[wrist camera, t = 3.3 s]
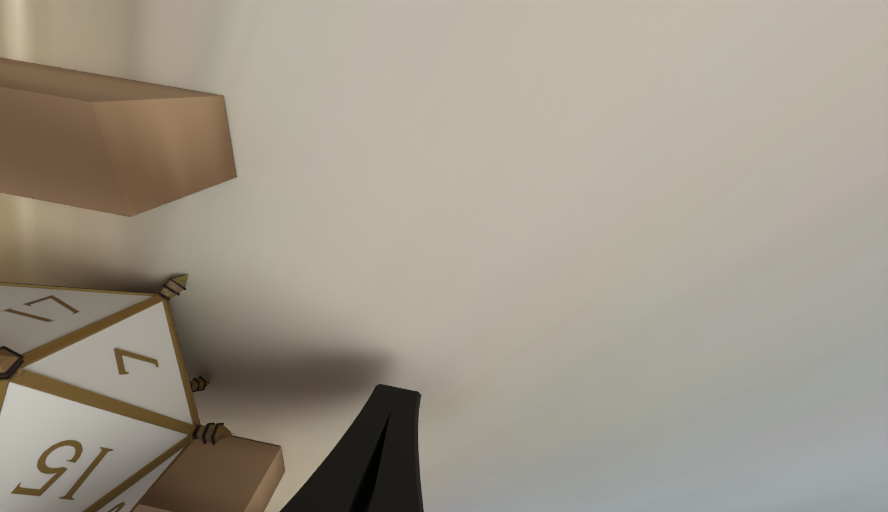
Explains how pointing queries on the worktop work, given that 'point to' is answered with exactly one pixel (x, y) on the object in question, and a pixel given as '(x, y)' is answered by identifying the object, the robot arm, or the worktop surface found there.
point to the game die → (91, 397)
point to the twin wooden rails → (132, 214)
